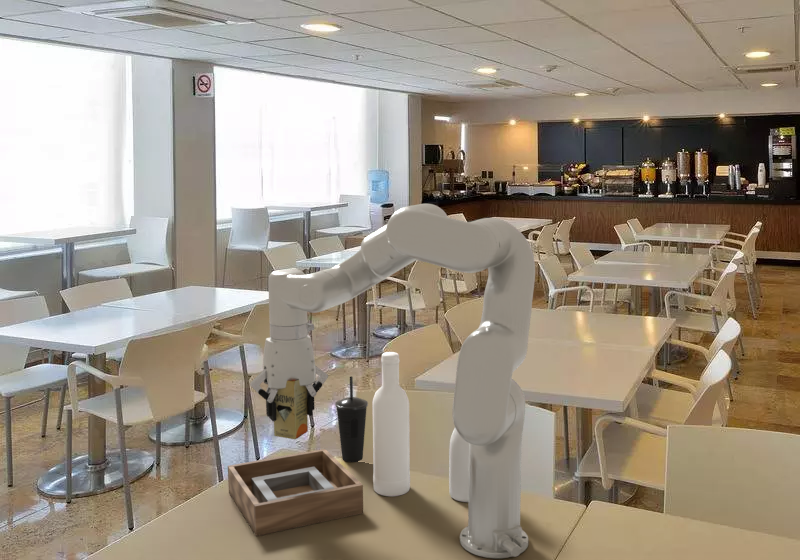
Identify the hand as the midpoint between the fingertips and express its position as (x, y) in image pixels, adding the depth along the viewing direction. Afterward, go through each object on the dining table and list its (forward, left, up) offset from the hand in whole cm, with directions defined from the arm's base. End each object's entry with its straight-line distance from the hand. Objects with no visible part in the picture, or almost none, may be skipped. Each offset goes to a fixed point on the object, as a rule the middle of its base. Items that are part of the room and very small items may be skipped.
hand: (290, 416), depth 162 cm
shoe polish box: (0, 0, -4) cm, 4 cm away
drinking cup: (+17, -20, -19) cm, 32 cm away
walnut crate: (0, 0, -19) cm, 19 cm away
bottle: (-3, -21, -19) cm, 28 cm away
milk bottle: (-13, -34, -19) cm, 41 cm away
